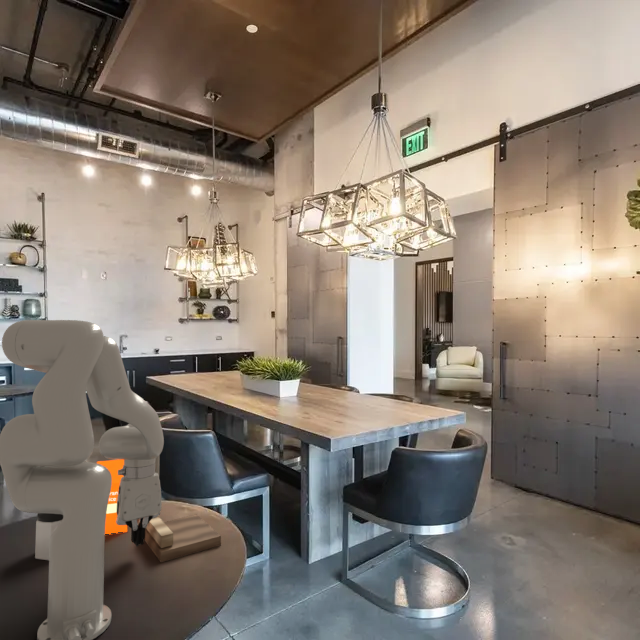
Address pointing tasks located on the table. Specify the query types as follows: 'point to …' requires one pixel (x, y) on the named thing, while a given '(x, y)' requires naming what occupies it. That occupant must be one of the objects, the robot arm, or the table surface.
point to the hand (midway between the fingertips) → (138, 543)
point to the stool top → (185, 538)
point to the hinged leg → (160, 532)
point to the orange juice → (113, 497)
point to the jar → (45, 533)
